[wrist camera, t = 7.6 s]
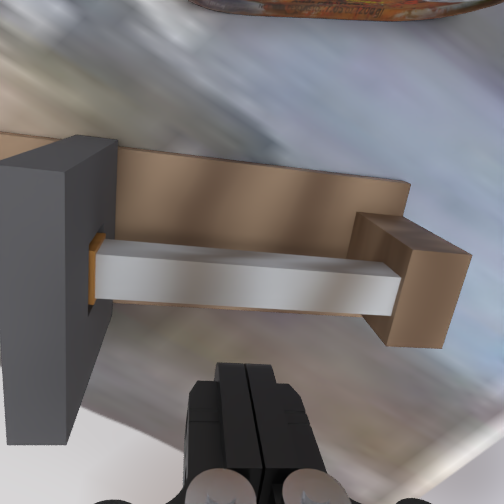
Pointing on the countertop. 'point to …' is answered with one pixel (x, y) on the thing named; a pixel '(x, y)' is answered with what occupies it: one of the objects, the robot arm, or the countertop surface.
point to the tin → (349, 8)
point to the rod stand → (270, 243)
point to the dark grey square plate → (52, 281)
